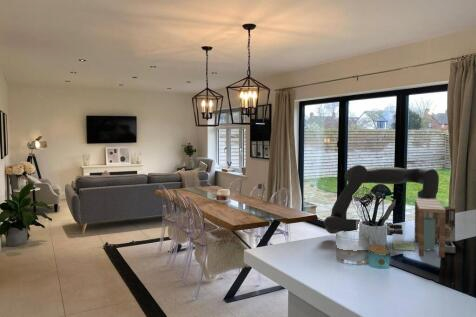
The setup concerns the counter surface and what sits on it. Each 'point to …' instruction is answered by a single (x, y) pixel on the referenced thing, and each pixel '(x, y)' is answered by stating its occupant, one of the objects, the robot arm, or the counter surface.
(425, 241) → the teal block
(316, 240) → the counter surface
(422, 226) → the small wooden table
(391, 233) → the robot arm
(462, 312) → the counter surface
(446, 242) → the pit box
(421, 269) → the counter surface
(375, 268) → the counter surface
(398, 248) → the mat
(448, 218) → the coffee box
